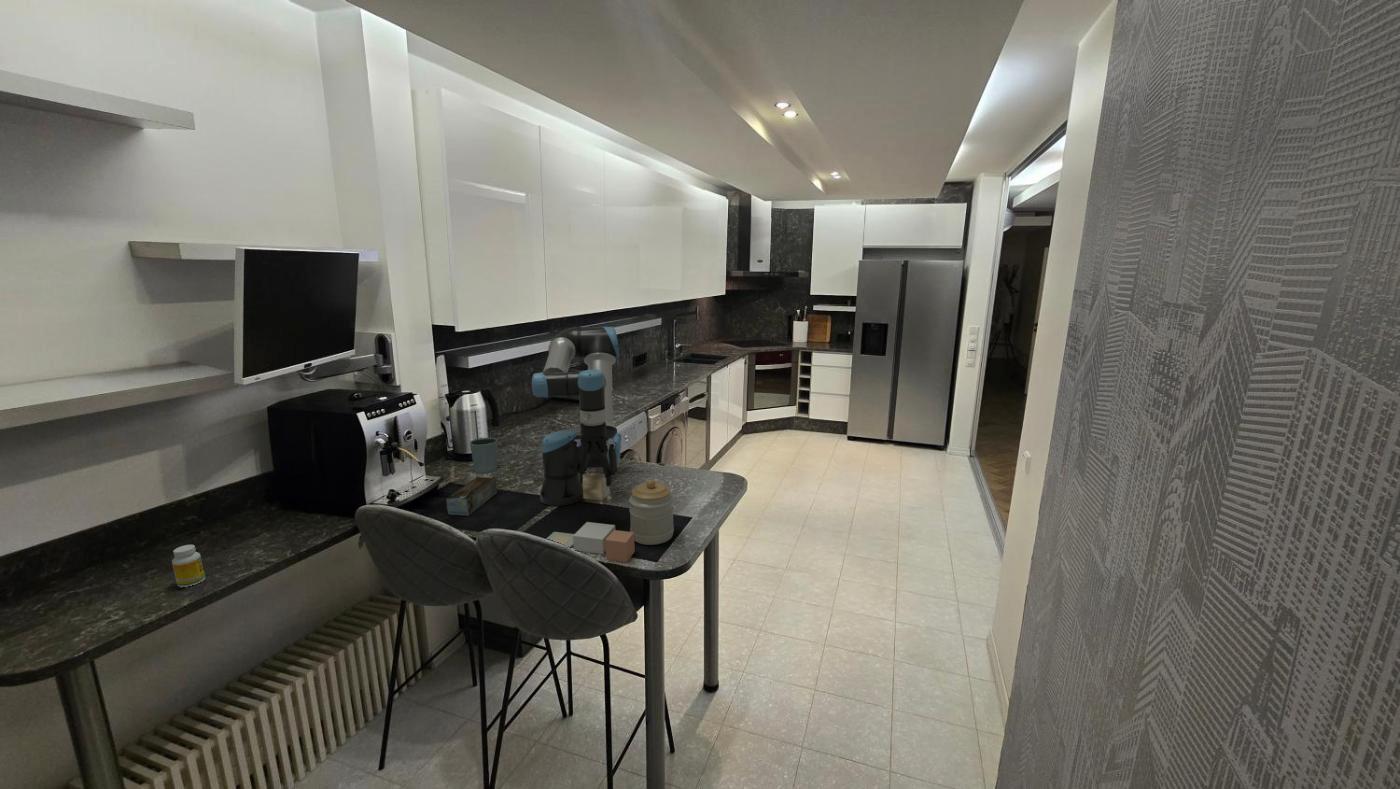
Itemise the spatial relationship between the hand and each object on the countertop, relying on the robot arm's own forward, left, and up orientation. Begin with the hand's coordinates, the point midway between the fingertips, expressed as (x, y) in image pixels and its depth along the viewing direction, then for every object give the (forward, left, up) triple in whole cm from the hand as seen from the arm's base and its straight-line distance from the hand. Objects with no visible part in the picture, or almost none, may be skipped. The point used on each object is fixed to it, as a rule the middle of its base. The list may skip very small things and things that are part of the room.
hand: (596, 494), depth 170 cm
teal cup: (-64, +35, -10) cm, 73 cm away
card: (-6, -13, -10) cm, 18 cm away
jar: (+19, -3, -10) cm, 22 cm away
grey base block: (+5, -12, -10) cm, 17 cm away
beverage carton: (-48, +5, -11) cm, 49 cm away
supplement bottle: (-87, -55, -10) cm, 104 cm away
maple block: (0, 0, 0) cm, 0 cm away
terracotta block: (+14, -16, -10) cm, 24 cm away
